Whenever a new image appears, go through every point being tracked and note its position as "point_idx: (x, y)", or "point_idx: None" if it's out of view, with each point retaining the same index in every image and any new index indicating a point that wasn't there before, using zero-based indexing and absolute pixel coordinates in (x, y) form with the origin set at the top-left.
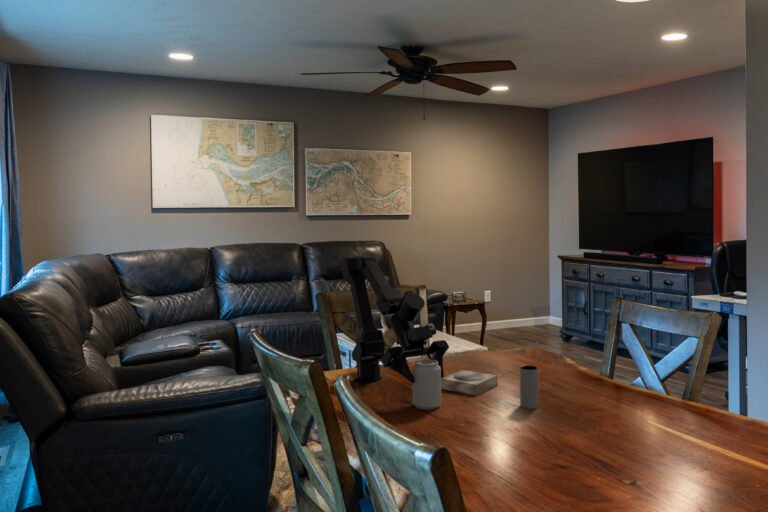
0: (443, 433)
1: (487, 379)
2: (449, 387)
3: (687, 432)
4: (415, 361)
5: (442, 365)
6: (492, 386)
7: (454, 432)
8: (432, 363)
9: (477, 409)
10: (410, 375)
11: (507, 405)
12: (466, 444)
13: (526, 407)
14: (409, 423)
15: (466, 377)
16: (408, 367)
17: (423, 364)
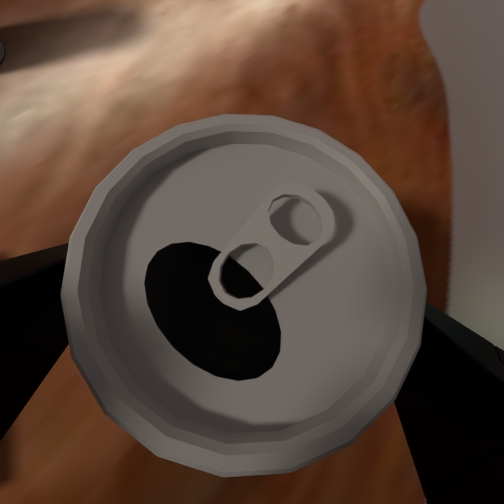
0: (375, 82)
1: None
2: None
3: None
4: (367, 417)
5: (2, 263)
6: None
7: (346, 68)
8: (176, 225)
9: (126, 147)
10: (427, 302)
11: (9, 107)
12: (375, 8)
13: (1, 44)
14: (412, 200)
15: None
16: (483, 358)
17: (376, 187)
